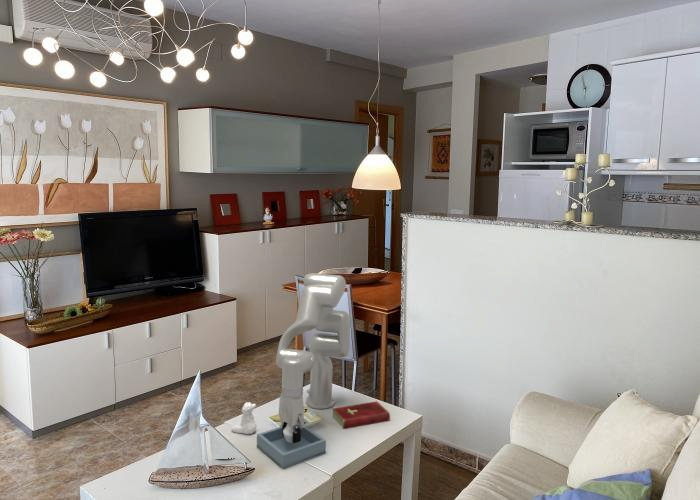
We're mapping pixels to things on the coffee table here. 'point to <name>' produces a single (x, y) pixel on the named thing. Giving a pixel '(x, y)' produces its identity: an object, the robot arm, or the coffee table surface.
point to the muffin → (288, 433)
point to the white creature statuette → (246, 420)
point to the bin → (290, 447)
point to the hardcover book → (360, 414)
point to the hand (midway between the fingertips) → (291, 437)
